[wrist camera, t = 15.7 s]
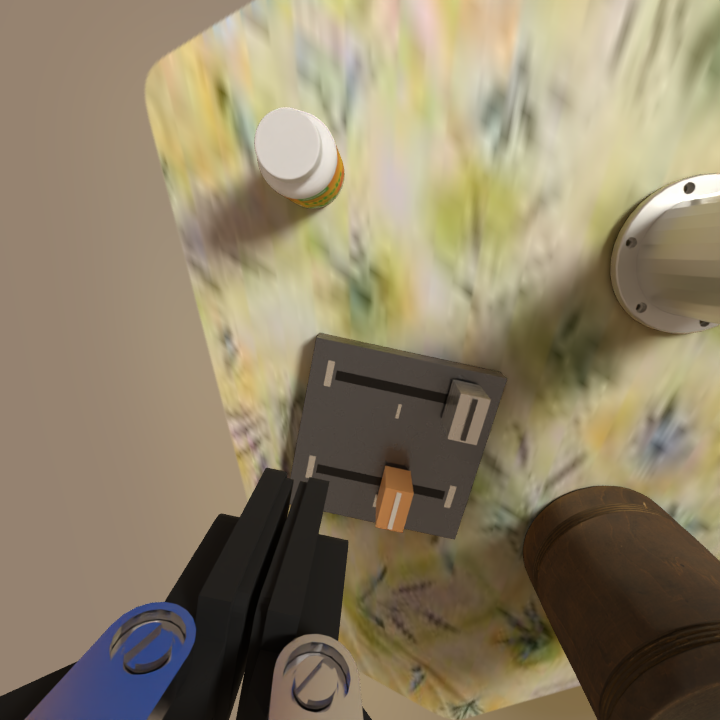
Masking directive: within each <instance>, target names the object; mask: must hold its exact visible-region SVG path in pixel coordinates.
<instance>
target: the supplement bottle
mask: <svg viewBox="0 0 720 720" xmlns="http://www.w3.org/2000/svg"><path fill="white" fill-rule="evenodd" d="M254 144H255V151H256V155H257V161H258V165H259V169H260V171H261V173H262V176H263V177H264V179H265V180H266V182H267V183H268V184H269V185H270V186H271V187H272V188H273V189H274V190H275V191H276V192H278V193H279V194H281V195H283V196H284V197H286V198H288V199H289V200H291V201H292V202H294V203H296V204H297V205H299V206H302V207H305V208H311V209H315V208H321V207H324V206H326V205H328V204H329V203H331V202H332V201H333V200H334V199H335V198H336V197H337V196H338V194H339V193H340V191H341V189H342V186H343V183H344V166H343V162H342V159H341V157H340V154H339V152H338V149H337V146H336V144H335V141H334V139H333V136H332V134H331V133H330V131H329V129H328V128H327V127H326V125H325V124H324V123H323V122H322V121H321V120H320V119H318V118H317V117H316V116H314V115H312V114H310V113H307V112H304V111H299V110H297V109H294V108H289V107H283V108H278V109H275V110H273V111H271V112H269V113H268V114H267V115H266V116H265V117H264V118H263V119H262V120H261V121H260V123H259V125H258V127H257V129H256V133H255V141H254Z"/></svg>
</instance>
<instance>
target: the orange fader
mask: <svg viewBox="0 0 720 720" xmlns="http://www.w3.org/2000/svg"><path fill="white" fill-rule="evenodd" d="M413 494H414V492H413V485H412V478H411V471H408V470H403V469H398V468H394V467H389V466H385V469H384V473H383V477H382V481H381V484H380V488H379V492H378V496H377V500H376V527H377V528H382V529H387V530H391V531H396V532H401V533H403V530H404V526H405V523H406V519H407V515H408V512H409V508H410V505H411V501H412V498H413Z"/></svg>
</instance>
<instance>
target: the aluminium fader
mask: <svg viewBox="0 0 720 720" xmlns="http://www.w3.org/2000/svg"><path fill="white" fill-rule="evenodd" d="M490 401H491V399H490V398H489V397H488V395H487V394H486V393H485V391H484V390H483V389H482V387H481V386H480V385H476V384H472V383H467V382H463V381H458V380H453V381H452V384H451V388H450V391H449V395H448V398H447V402H446V405H445V409H444V412H443V415H442V419H441V423H442V425H443V428H444V431H445V434H446V436H447V439H450V440H454V441H459V442H463V443H468V444H473V445H477V442H478V439H479V436H480V433H481V430H482V426H483V423H484V420H485V417H486V414H487V411H488V408H489V405H490Z"/></svg>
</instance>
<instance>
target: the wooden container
mask: <svg viewBox="0 0 720 720" xmlns="http://www.w3.org/2000/svg"><path fill="white" fill-rule="evenodd" d="M523 559H524V564H525V568H526V570H527V573H528V575H529V578H530V580H531V582H532V584H533V587H534V589H535V591H536V593H537V595H538V597H539V599H540V602H541V604H542V606H543V609H544V611H545V613H546V615H547V617H548V619H549V621H550V623H551V626H552V628H553V630H554V632H555V634H556V636H557V638H558V640H559V642H560V644H561V646H562V648H563V650H564V652H565V654H566V656H567V658H568V660H569V662H570V664H571V666H572V668H573V670H574V672H575V674H576V676H577V678H578V680H579V682H580V684H581V686H582V689H583V691H584V693H585V695H586V697H587V699H588V701H589V703H590V705H591V707H592V709H593V711H594V713H595V715H596V717H597V720H720V561H719V560H718V559H717V558H716V557H715V556H714V555H713V554H711V553H710V552H709V551H708V550H707V549H706V548H705V547H704V546H703V545H702V544H701V543H700V542H699V541H697V540H696V539H695V538H694V537H693V536H692V535H691V534H690V533H689V532H688V531H686V530H685V529H684V528H683V527H682V526H681V525H679V524H678V523H677V522H676V521H675V520H674V519H673V518H672V517H671V516H670V515H669V514H668V513H666V512H665V511H664V510H663V509H662V508H661V507H660V506H658V505H657V504H656V503H655V502H654V501H652V500H651V499H650V498H648V497H647V496H645V495H643V494H641V493H639V492H636V491H633V490H631V489H627V488H623V487H617V486H596V487H589V488H585V489H581V490H577V491H574V492H571V493H569V494H566V495H564V496H562V497H560V498H558V499H557V500H555V501H554V502H552V503H551V504H550V505H549V506H547V507H546V508H545V509H544V510H543V511H542V512H541V513H540V514H539V515H538V516H537V517H536V518H535V520H534V521H533V522H532V524H531V526H530V528H529V529H528V531H527V534H526V537H525V540H524V546H523Z"/></svg>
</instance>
